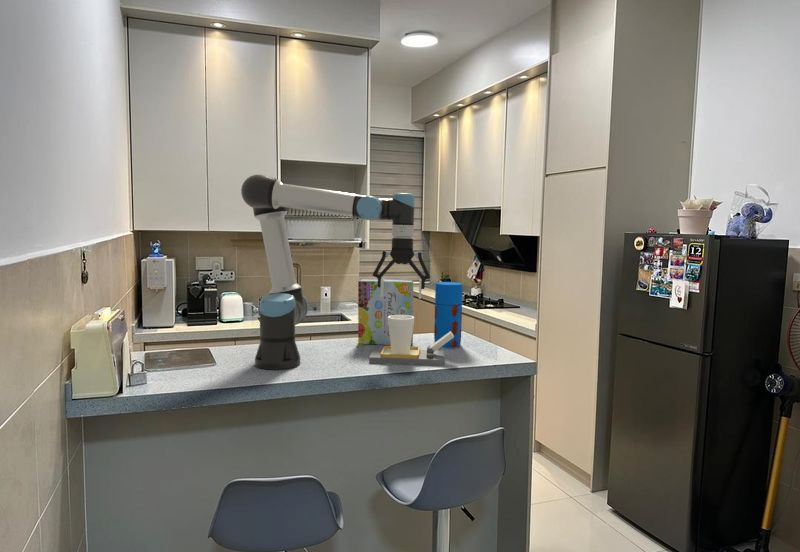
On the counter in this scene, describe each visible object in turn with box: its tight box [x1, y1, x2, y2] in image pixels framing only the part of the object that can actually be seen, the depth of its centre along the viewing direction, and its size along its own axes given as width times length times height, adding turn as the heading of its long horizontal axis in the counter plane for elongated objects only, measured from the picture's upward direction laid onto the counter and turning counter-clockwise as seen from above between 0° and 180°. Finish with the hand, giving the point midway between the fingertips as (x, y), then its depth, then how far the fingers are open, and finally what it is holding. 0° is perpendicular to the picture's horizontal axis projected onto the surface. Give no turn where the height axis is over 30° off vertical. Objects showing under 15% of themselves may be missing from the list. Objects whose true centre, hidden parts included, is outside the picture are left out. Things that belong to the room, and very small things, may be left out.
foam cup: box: [388, 315, 415, 354], centre depth 193 cm, size 10×9×13 cm
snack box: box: [357, 279, 414, 346], centre depth 218 cm, size 22×9×26 cm, turn 82°
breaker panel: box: [368, 345, 445, 367], centre depth 193 cm, size 26×14×3 cm, turn 86°
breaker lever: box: [426, 331, 454, 354], centre depth 192 cm, size 2×5×11 cm
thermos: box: [433, 281, 464, 349], centre depth 216 cm, size 11×11×25 cm
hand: (400, 297), depth 192 cm, fingers open, 13 cm apart
